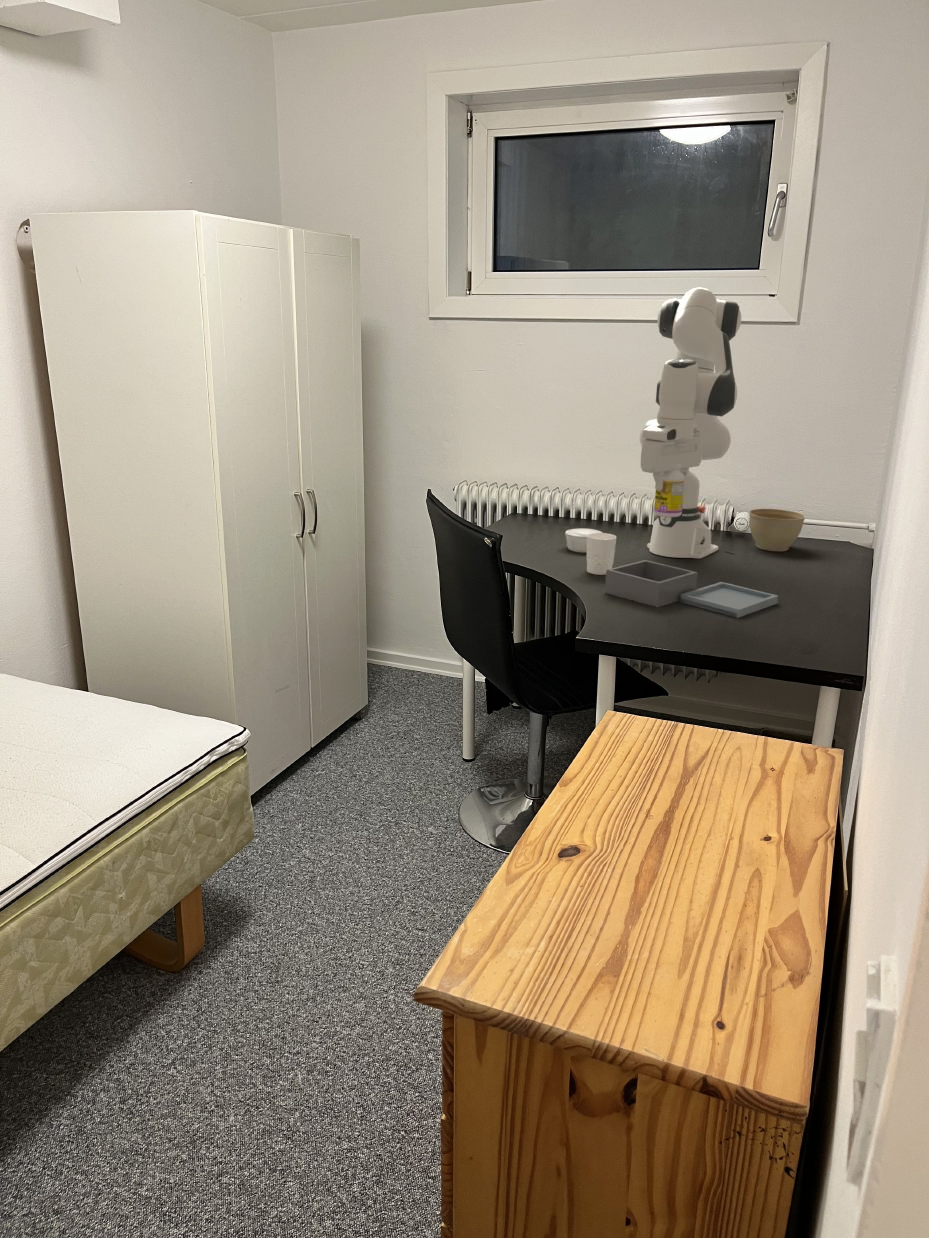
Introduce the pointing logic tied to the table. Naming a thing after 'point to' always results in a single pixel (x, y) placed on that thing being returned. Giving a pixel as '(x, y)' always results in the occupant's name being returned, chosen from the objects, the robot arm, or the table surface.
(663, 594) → the deep holder
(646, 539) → the table surface
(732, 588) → the tray
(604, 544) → the white cup
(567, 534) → the ramekin
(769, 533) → the planter bowl
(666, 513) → the supplement bottle
